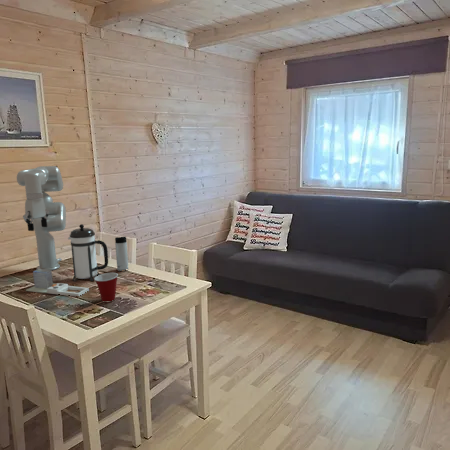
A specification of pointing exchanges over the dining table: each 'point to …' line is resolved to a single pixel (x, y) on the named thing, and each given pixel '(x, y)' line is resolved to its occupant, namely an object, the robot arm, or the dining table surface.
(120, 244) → the travel mug
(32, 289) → the sage mat
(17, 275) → the dining table surface
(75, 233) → the coffee press
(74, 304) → the dining table surface
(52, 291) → the power strip dock
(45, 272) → the medicine box
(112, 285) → the plastic cup
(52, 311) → the dining table surface
